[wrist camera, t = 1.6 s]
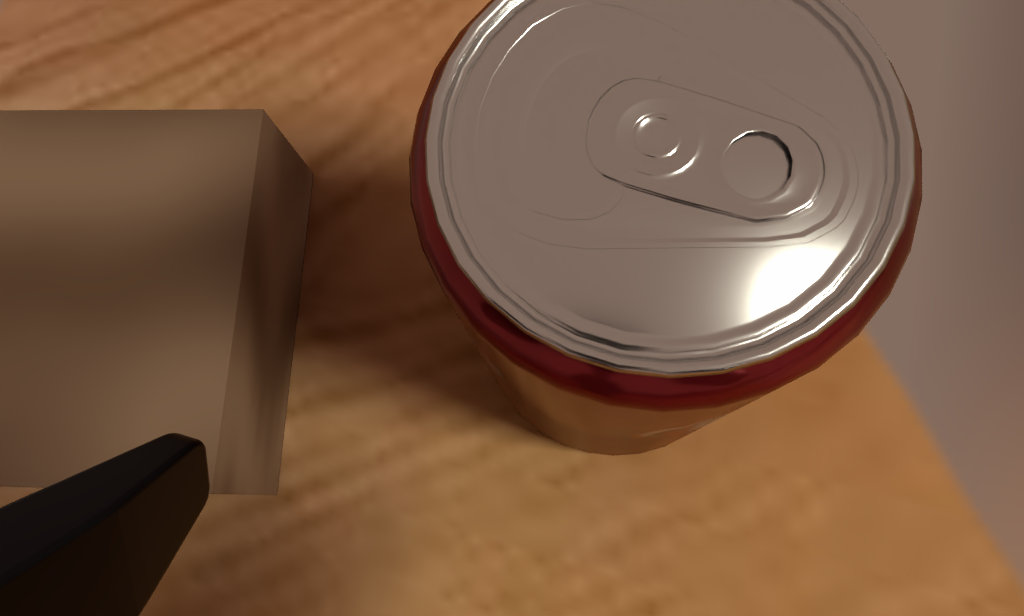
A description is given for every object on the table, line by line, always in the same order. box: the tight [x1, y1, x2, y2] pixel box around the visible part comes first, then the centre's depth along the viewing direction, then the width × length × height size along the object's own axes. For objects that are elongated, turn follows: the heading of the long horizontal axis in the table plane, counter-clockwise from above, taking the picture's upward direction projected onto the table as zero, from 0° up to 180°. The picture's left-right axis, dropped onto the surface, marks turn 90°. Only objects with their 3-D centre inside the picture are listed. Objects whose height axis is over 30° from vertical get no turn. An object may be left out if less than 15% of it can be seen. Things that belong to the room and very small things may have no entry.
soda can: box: [409, 0, 922, 456], centre depth 16 cm, size 7×7×12 cm
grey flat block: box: [0, 110, 313, 495], centre depth 21 cm, size 10×9×4 cm
